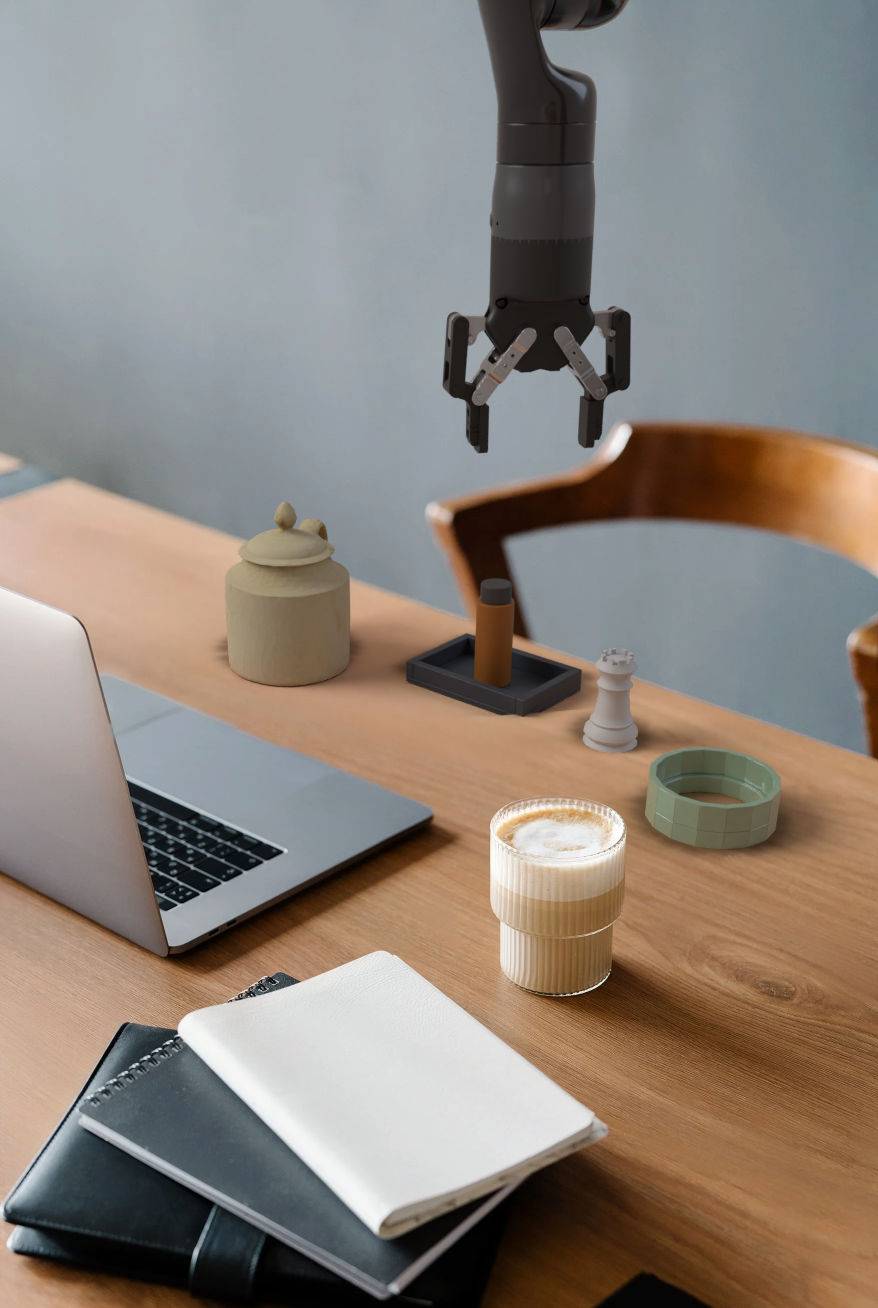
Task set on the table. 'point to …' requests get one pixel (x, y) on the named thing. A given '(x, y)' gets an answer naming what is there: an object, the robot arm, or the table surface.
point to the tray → (527, 692)
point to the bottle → (494, 633)
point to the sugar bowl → (288, 606)
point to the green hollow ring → (713, 775)
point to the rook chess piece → (613, 705)
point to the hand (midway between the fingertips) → (533, 448)
